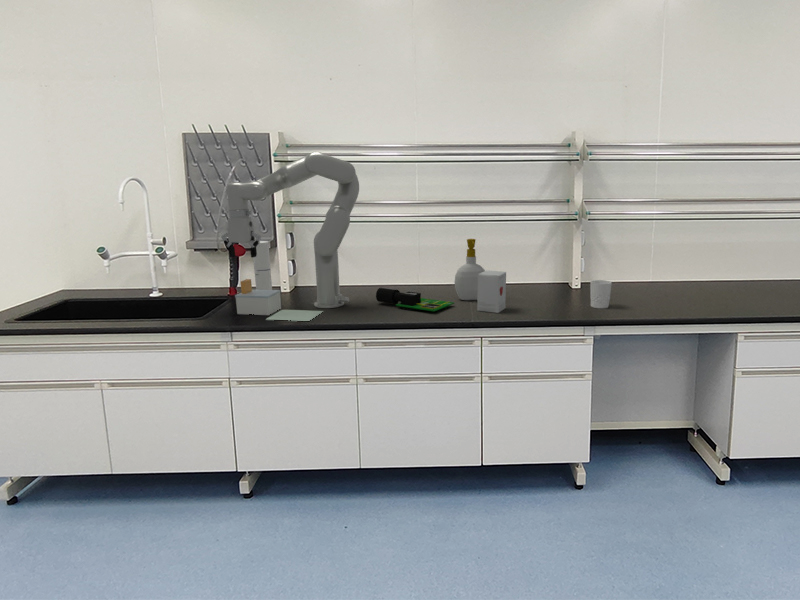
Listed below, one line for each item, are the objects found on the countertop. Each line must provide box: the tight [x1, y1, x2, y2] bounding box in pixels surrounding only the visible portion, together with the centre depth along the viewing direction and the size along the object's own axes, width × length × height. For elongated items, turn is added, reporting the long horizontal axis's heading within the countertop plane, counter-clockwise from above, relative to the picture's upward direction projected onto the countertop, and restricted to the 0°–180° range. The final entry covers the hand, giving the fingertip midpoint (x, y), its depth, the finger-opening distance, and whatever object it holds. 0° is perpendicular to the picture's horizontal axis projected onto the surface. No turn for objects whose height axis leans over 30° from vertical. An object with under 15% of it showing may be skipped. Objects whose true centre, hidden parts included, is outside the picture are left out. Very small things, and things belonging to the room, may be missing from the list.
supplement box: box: [476, 270, 507, 314], centre depth 219 cm, size 9×9×15 cm
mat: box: [265, 309, 324, 322], centre depth 219 cm, size 18×15×1 cm
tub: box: [235, 292, 282, 316], centre depth 227 cm, size 14×11×7 cm
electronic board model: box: [375, 287, 455, 312], centre depth 230 cm, size 30×7×15 cm
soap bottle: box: [454, 238, 486, 301], centre depth 235 cm, size 14×9×26 cm, turn 96°
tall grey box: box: [252, 240, 273, 290], centre depth 252 cm, size 7×7×25 cm
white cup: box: [589, 279, 612, 309], centre depth 220 cm, size 8×8×10 cm
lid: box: [234, 278, 282, 298], centre depth 226 cm, size 14×11×7 cm
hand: (243, 256), depth 225 cm, fingers open, 9 cm apart
